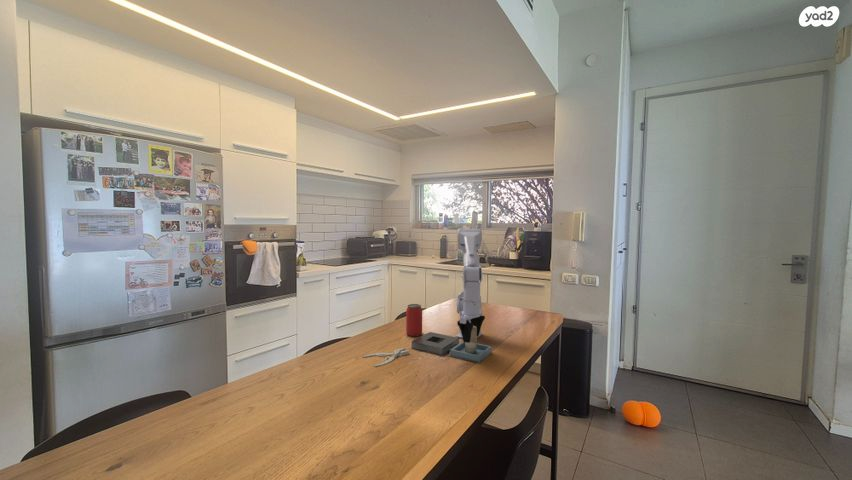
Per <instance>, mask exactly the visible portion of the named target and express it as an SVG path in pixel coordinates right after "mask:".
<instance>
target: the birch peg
mask: <svg viewBox="0 0 852 480" xmlns="http://www.w3.org/2000/svg"><path fill="white" fill-rule="evenodd" d="M477 340H478V337H477V327H476V326H473V328H472V332H471V339H470V342H469V343H467V342H465V352H466V353H470V354H476V353H477V344H478V341H477Z"/></svg>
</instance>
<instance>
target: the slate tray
mask: <svg viewBox="0 0 852 480" xmlns="http://www.w3.org/2000/svg"><path fill="white" fill-rule="evenodd" d="M492 350H493V347H492V346H491V345H487V344H483V343H482V344H481V343H477V353H476V354H470V353H466V352H465V342H464V341H463V340H462V341H461V342H459V344H458V345H457V346H455V347H453V348H452V349H450V351H449V356H450V357H453V358H457V359H461V360H465V361H469V362H473V363H479V364H480V363H481V362H483V361H484V360H485V359H486V358H488V356H489V355H491V354H492Z"/></svg>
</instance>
